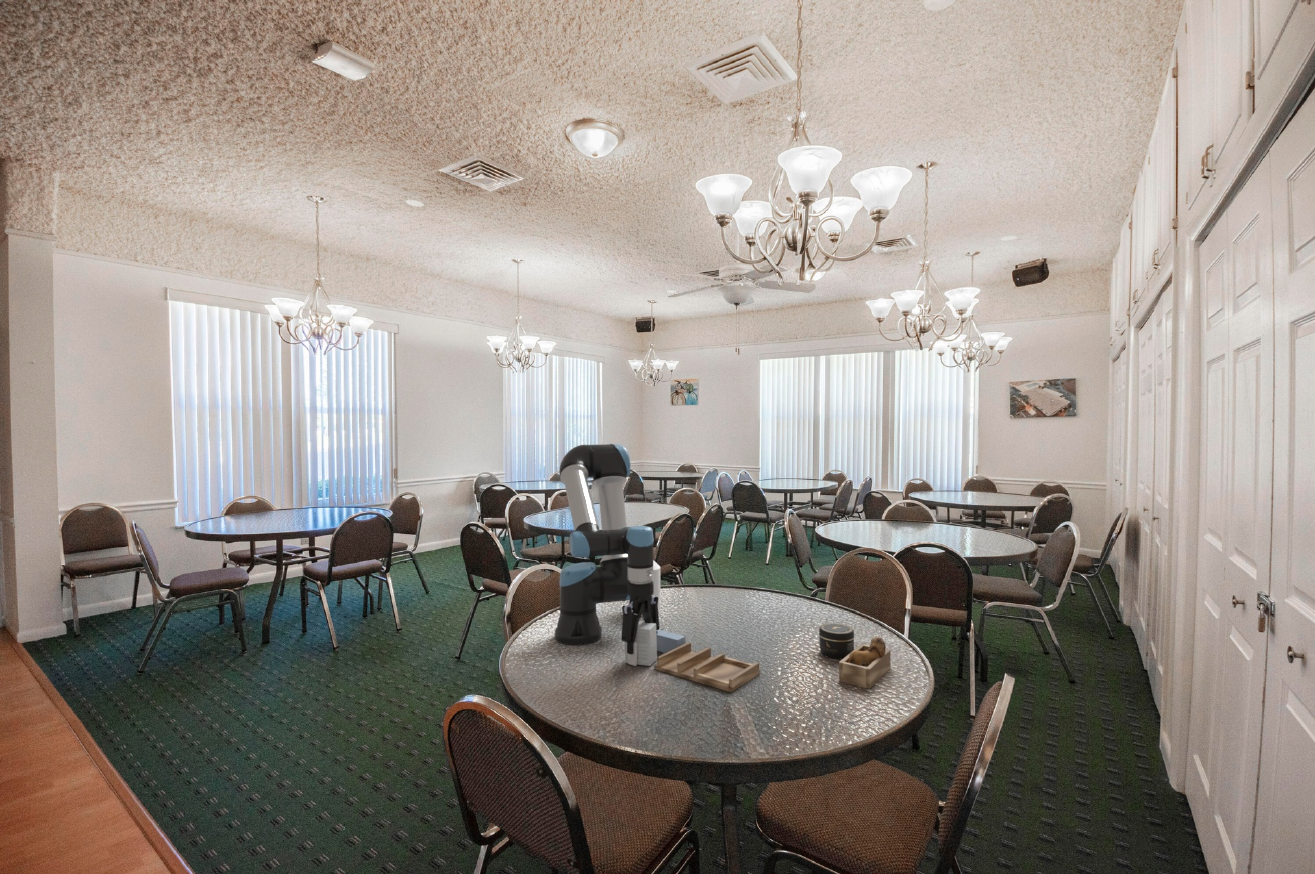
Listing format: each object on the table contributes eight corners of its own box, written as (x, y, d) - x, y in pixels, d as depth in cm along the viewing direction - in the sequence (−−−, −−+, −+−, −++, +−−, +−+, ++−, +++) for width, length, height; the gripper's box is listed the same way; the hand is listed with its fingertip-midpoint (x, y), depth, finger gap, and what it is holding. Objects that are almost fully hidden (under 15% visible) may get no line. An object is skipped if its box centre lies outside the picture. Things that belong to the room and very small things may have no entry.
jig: (654, 668, 165) (654, 656, 165) (685, 653, 176) (685, 641, 176) (731, 692, 149) (731, 678, 149) (760, 673, 161) (760, 660, 161)
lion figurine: (874, 665, 165) (874, 633, 165) (891, 671, 161) (891, 638, 161) (838, 677, 157) (838, 643, 157) (855, 684, 153) (854, 649, 153)
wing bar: (677, 657, 174) (677, 640, 174) (648, 648, 181) (648, 632, 181) (685, 653, 177) (685, 636, 177) (656, 645, 184) (656, 629, 184)
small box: (657, 659, 171) (657, 623, 171) (650, 666, 166) (650, 629, 166) (631, 655, 174) (631, 620, 174) (624, 663, 169) (624, 626, 168)
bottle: (622, 610, 220) (621, 543, 220) (646, 604, 228) (645, 539, 228) (643, 617, 211) (642, 548, 211) (667, 610, 219) (666, 543, 219)
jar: (813, 654, 175) (812, 628, 175) (828, 645, 182) (828, 620, 182) (845, 662, 168) (844, 636, 168) (860, 653, 175) (859, 627, 175)
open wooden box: (839, 681, 155) (839, 662, 155) (861, 661, 169) (861, 643, 169) (869, 688, 150) (869, 669, 150) (890, 667, 164) (890, 649, 164)
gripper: (627, 590, 159) (628, 674, 160) (671, 575, 175) (672, 652, 175) (607, 586, 164) (608, 668, 164) (652, 572, 180) (652, 647, 180)
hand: (641, 660), depth 170 cm, fingers closed on small box, 7 cm apart
